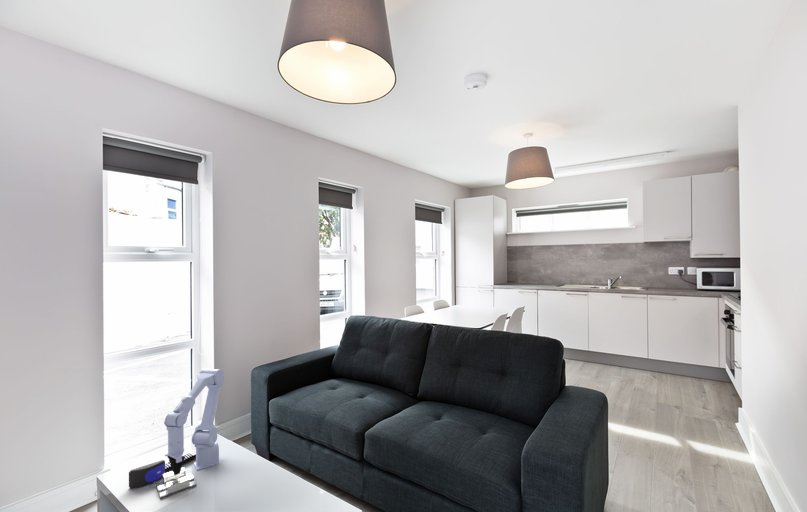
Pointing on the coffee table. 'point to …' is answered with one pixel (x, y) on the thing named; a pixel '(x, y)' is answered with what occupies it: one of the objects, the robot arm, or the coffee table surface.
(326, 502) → the coffee table surface
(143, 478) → the leaning round-cornered charcoal block
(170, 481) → the rail plate
